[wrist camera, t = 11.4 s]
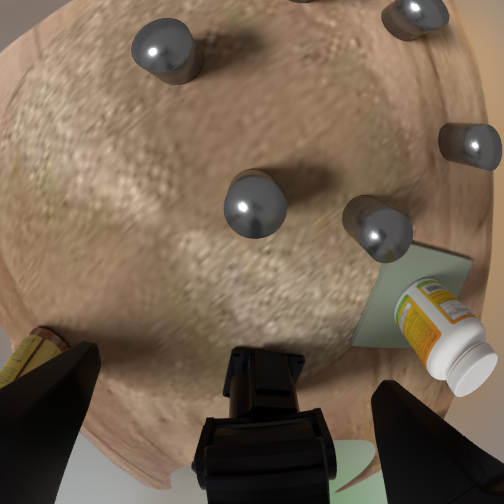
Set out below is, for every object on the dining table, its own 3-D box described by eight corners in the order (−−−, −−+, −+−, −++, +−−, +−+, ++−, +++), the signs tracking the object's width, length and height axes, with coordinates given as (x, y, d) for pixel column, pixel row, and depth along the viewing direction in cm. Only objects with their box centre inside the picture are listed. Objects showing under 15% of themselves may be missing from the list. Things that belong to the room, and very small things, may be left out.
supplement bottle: (405, 338, 23) (452, 412, 14) (382, 305, 21) (439, 388, 12) (447, 301, 22) (506, 365, 13) (430, 264, 20) (503, 330, 11)
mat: (428, 344, 24) (430, 348, 24) (349, 342, 24) (351, 346, 23) (469, 258, 21) (473, 261, 20) (391, 237, 20) (395, 240, 19)
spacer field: (434, 256, 21) (464, 279, 16) (133, 197, 18) (105, 213, 14) (473, 54, 14) (507, 48, 9) (190, -40, 11) (179, -71, 7)
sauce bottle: (34, 351, 24) (-41, 474, 6) (31, 314, 22) (-69, 450, 4) (78, 377, 25) (16, 518, 7) (80, 343, 23) (-5, 508, 5)
